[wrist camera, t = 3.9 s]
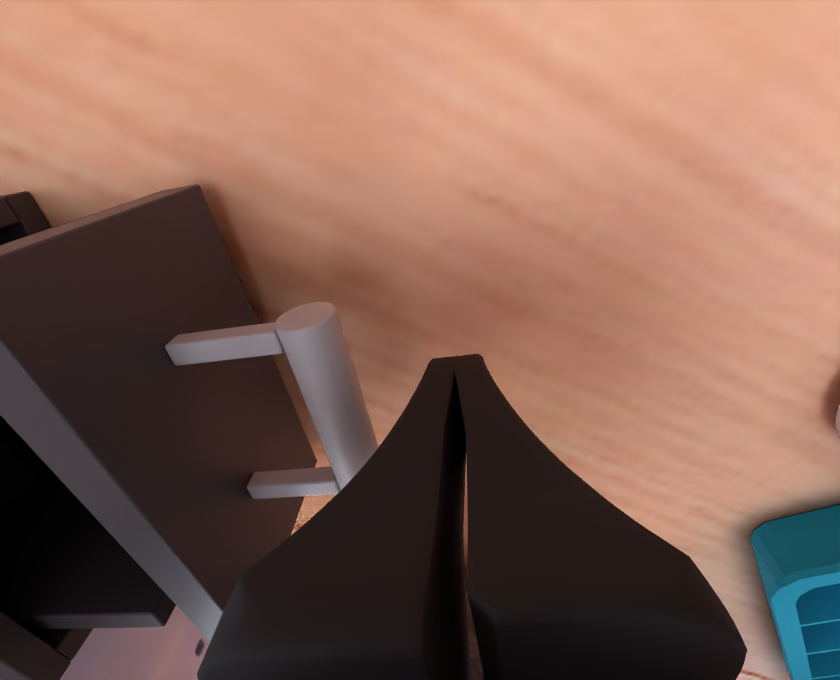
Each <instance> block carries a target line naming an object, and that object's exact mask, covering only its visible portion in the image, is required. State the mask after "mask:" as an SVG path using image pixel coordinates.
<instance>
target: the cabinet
mask: <svg viewBox="0 0 840 680" xmlns="http://www.w3.org/2000/svg"><path fill="white" fill-rule="evenodd" d="M50 228H51V227H50V226H49V224H48V222H47V221H46V219H45V218H44V216H43V215H42V213H41V211H40V210H39V208H38V207H37V205H36V204H35V202H34V201H33V199H32V197H31V196H30V194H29V193H28V192H20V193H15V194H9V195H4V196H0V245H3V244H6V243H9V242H12V241H15V240H18V239H21V238H24V237H27V236H30V235H32V234H35V233H38V232H41V231H44V230H47V229H50ZM92 630H93V628H83V629H29V630H27V629H26V628H24V627H23V626H22V625H20V624H19V623H17V622H16V621H15V620H13V619H12V618H11V617H9V616H8V615H6V614H5V613H4V612H2V611H1V610H0V680H60V679H61V677H62V676H63V674H64V673H65V671H66V670H67V668H68V667H69V665H70V664H71V661H70V660H72V659H73V658H74V657H75V656H76V654H77V653H78V651H79V650H80V648H81V647H82V645H83V644H84V642H85V640H86V639H87V637H88V636H89V634H90V633H91V631H92Z"/></svg>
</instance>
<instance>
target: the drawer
mask: <svg viewBox="0 0 840 680" xmlns="http://www.w3.org/2000/svg"><path fill="white" fill-rule="evenodd" d="M284 351H285V353H286V356H287V358H288V361H289V363H290V366H291V368H292V371H293V373H294V375H295V378H296V380H297V383H298V385H299V388H300V390H301V393H302V395H303V398H304V400H305V403H306V405H307V408H308V410H309V413H310V415H311V418H312V420H313V422H314V425H315V427H316V430H317V432H318V435H319V437H320V440H321V442H322V445H323V447H324V450H325V452H326V455H327V457H328V460H329V462H330V465H331V467H319V468H315V465H316V462H317V460H316V458H315V455H314V453H313V451H312V448H311V446H310V443H309V441H308V439H307V436H306V434H305V432H304V429H303V427H302V425H301V422H300V420H299V418H298V415H297V413H296V411H295V408H294V406H293V404H292V401H291V399H290V397H289V394H288V392H287V390H286V387H285V385H284V383H283V380H282V378H281V375H280V373H279V371H278V368H277V366H276V364H275V361H274V359H273V357H272V355H274V354H281V353H283V352H284ZM377 449H378V444H377V441H376V437H375V434H374V431H373V428H372V424H371V421H370V418H369V415H368V411H367V408H366V405H365V401H364V398H363V395H362V392H361V388H360V385H359V382H358V379H357V375H356V372H355V369H354V366H353V362H352V359H351V356H350V353H349V349H348V346H347V343H346V339H345V336H344V333H343V330H342V326H341V323H340V320H339V317H338V313H337V310H336V308H335V306H334V305H333V304H331V303H328V302H312V303H307V304H303V305H300V306H297V307H294V308H292V309H290V310H288V311H286V312H285V313H283V314H282V315H281V316H279V317H278V319H277V320H276V322H273V323H265V324H258V322H257V319H256V317H255V315H254V312H253V310H252V307H251V305H250V303H249V300H248V298H247V296H246V293H245V291H244V289H243V286H242V284H241V282H240V279H239V277H238V275H237V272H236V270H235V268H234V265H233V263H232V261H231V258H230V256H229V254H228V251H227V249H226V247H225V244H224V242H223V239H222V237H221V235H220V232H219V230H218V228H217V225H216V223H215V221H214V218H213V216H212V214H211V211H210V209H209V207H208V204H207V202H206V200H205V197H204V195H203V193H202V190H201V188H200V186H199V185H191V186H186V187H180V188H175V189H169V190H164V191H160V192H157V193H154V194H151V195H148V196H145V197H143V198H140V199H137V200H134V201H131V202H128V203H125V204H122V205H119V206H116V207H113V208H110V209H107V210H104V211H101V212H98V213H95V214H92V215H89V216H86V217H83V218H80V219H77V220H74V221H71V222H68V223H65V224H62V225H59V226H56V227H53V228H50V229H47V230H44V231H41V232H38V233H35V234H32V235H30V236H27V237H24V238H21V239H18V240H15V241H12V242H9V243H6V244H3V245H0V610H1V611H2V612H4V613H5V614H6V615H8V616H9V617H11V618H12V619H13V620H15V621H16V622H17V623H19V624H20V625H22V626H23V627H24V628H26V629H27V630H29V629H83V628H137V627H164V626H165V625H166V624H167V622H168V620H169V618H170V616H171V614H172V612H173V611H174V609H175V607H176V605H177V606H178V607H179V608H180V610H181V611H182V612H183V613H184V614H185V615H186V616H187V617H188V618H189V619H190V620H191V621H192V622H193V624H194V625H195V626H196V627H197V628H198V629H199V630H200V631H201V632H202V633H203V634H204V635H205V636H206V638H207V639H208V640H209V641H211V639H212V637H213V634H214V632H215V630H216V627H217V625H218V623H219V620H220V618H221V615H222V613H223V611H224V609H225V606H226V604H227V602H228V600H229V598H230V596H231V594H232V592H233V590H234V588H235V586H236V585H237V583H238V581H239V579H240V577H241V575H242V573H243V572H244V571H246V570H247V569H248V568H250V567H251V566H252V565H254V564H255V563H256V562H258V561H259V560H260V559H262V558H263V557H264V556H265V555H267V554H268V553H269V552H271V551H272V550H273V549H274V548H276V547H277V546H278V545H280V544H281V543H282V542H284V541H285V540H286V539H287V538H289V537H290V536H291V533H292V530H293V527H294V525H295V522H296V519H297V516H298V513H299V510H300V508H301V505H302V502H303V499H304V496H313V495H329V494H338V493H339V492H340V491H341V490H342V489H343V488H344V487H345V486H346V485H347V483H348V482H349V481H350V480H351V479H352V478H353V477H354V476H355V475H356V474H357V472H358V471H359V470H360V469H361V468H362V467H363V466H364V465H365V463H366V462H367V461H368V460H369V459H370V457H371V456H372V455H373V454H374V453H375V451H376V450H377Z"/></svg>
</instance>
